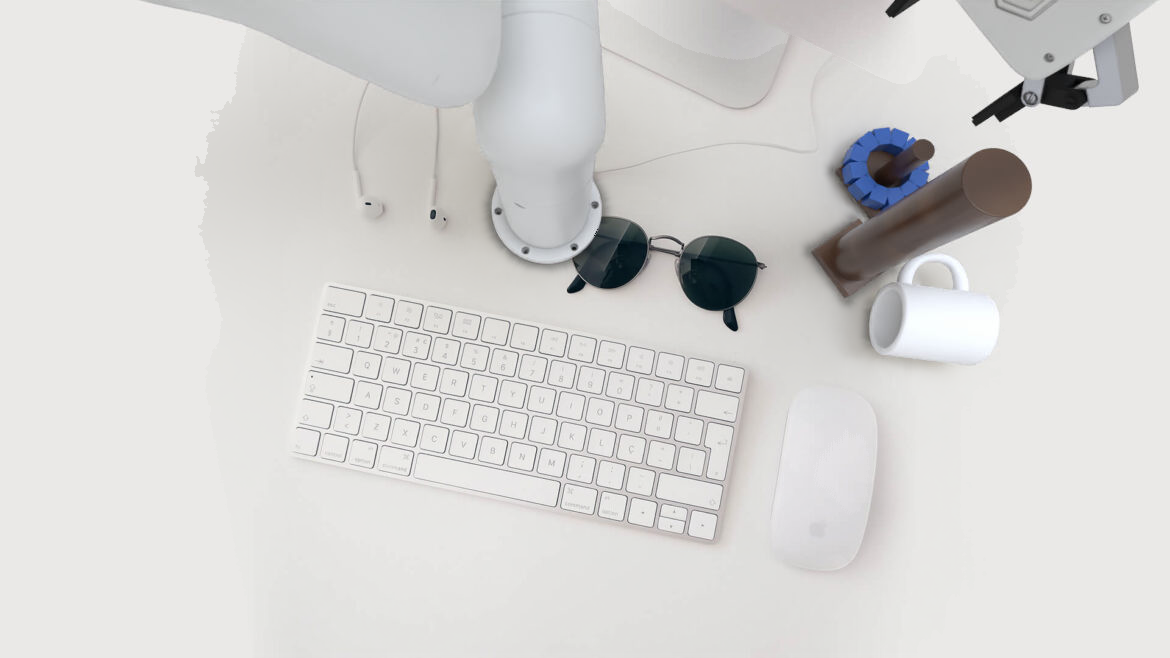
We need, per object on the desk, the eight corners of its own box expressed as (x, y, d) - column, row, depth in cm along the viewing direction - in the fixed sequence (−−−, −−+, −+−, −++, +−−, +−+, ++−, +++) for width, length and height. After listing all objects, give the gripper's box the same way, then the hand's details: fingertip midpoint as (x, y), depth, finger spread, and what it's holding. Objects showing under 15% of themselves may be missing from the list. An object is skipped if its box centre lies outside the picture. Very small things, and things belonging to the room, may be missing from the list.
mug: (951, 368, 72) (999, 362, 64) (866, 357, 72) (903, 350, 64) (955, 266, 74) (1003, 249, 66) (872, 256, 73) (909, 237, 66)
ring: (826, 164, 74) (833, 158, 72) (884, 120, 75) (893, 112, 73) (877, 225, 73) (886, 220, 71) (935, 179, 74) (945, 173, 72)
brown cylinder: (810, 252, 73) (938, 170, 48) (854, 221, 74) (1002, 125, 49) (844, 298, 73) (991, 239, 48) (888, 267, 73) (1056, 193, 49)
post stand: (834, 171, 75) (871, 139, 66) (886, 136, 75) (929, 99, 67) (875, 226, 74) (918, 200, 65) (927, 189, 75) (976, 159, 66)
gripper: (1007, -269, 28) (829, -10, 44) (1265, 38, 26) (982, 185, 43) (1126, -342, 29) (908, -61, 45) (1379, -49, 27) (1059, 127, 44)
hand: (944, 59), depth 44 cm, fingers open, 9 cm apart
